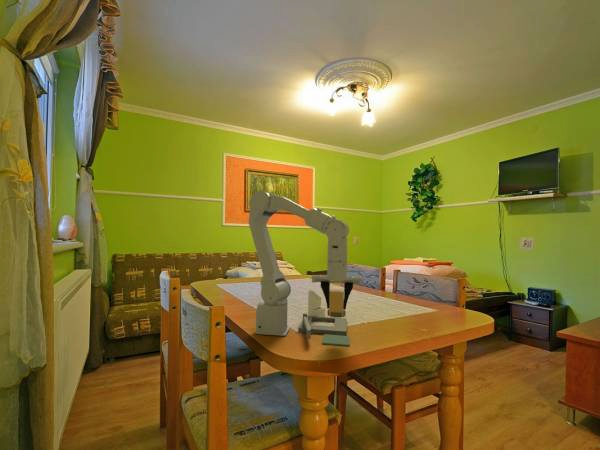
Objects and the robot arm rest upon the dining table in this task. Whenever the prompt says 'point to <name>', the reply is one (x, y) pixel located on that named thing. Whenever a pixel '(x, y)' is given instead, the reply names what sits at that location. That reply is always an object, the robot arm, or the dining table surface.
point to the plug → (336, 303)
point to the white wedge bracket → (315, 305)
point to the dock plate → (337, 329)
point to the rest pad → (336, 340)
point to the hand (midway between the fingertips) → (336, 308)
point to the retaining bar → (306, 326)
